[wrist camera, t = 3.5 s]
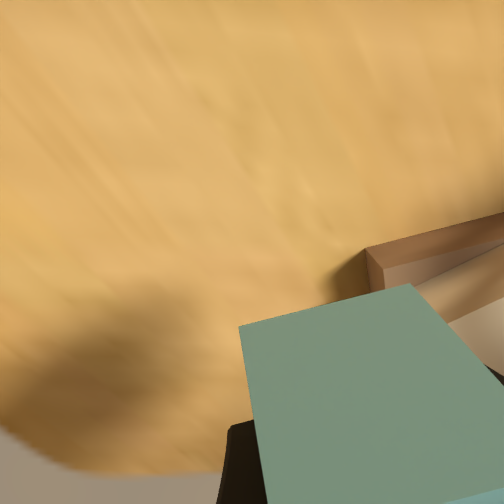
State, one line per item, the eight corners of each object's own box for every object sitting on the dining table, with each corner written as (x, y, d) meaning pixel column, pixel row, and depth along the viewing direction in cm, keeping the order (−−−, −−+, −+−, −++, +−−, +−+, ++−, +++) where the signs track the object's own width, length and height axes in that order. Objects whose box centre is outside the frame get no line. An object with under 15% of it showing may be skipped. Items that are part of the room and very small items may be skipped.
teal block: (409, 282, 10) (578, 468, 6) (420, 411, 12) (555, 631, 8) (238, 326, 10) (275, 547, 6) (272, 450, 12) (321, 694, 8)
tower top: (525, 232, 17) (577, 262, 15) (554, 348, 19) (602, 388, 17) (376, 305, 17) (404, 344, 15) (422, 408, 20) (452, 455, 18)
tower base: (521, 201, 19) (566, 221, 17) (516, 335, 22) (554, 368, 20) (360, 242, 19) (383, 269, 17) (377, 372, 22) (398, 410, 20)
